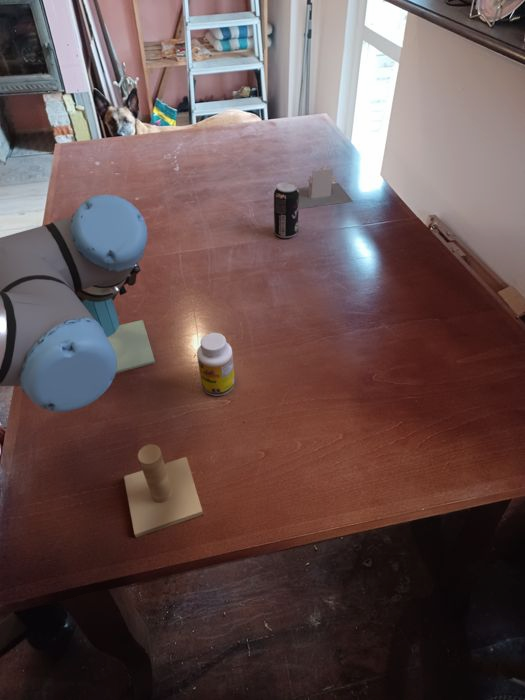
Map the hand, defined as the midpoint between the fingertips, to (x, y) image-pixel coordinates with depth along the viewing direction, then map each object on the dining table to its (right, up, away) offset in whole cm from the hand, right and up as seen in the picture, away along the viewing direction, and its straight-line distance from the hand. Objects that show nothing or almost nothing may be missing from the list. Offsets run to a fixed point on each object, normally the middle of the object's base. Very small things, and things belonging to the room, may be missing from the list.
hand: (84, 304), depth 82 cm
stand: (+17, -28, -16) cm, 37 cm away
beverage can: (+36, +20, +33) cm, 53 cm away
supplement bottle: (+23, -14, -2) cm, 27 cm away
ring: (+2, -4, 0) cm, 4 cm away
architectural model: (+46, +34, +47) cm, 74 cm away
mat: (+2, -8, +4) cm, 10 cm away
